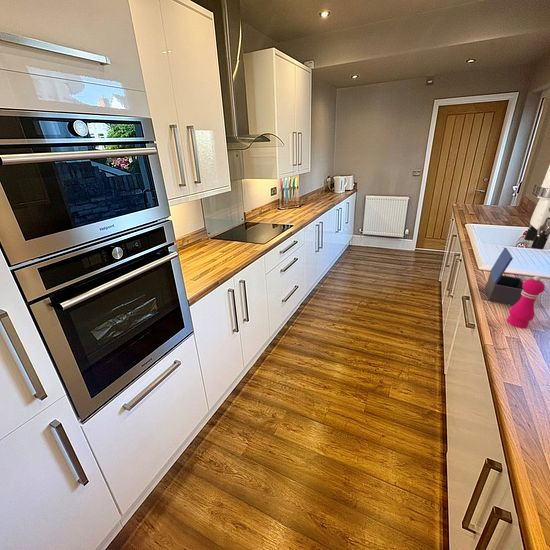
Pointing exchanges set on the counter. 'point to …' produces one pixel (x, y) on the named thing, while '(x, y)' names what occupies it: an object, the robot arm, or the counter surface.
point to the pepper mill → (526, 303)
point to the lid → (500, 265)
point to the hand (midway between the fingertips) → (533, 244)
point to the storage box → (504, 289)
